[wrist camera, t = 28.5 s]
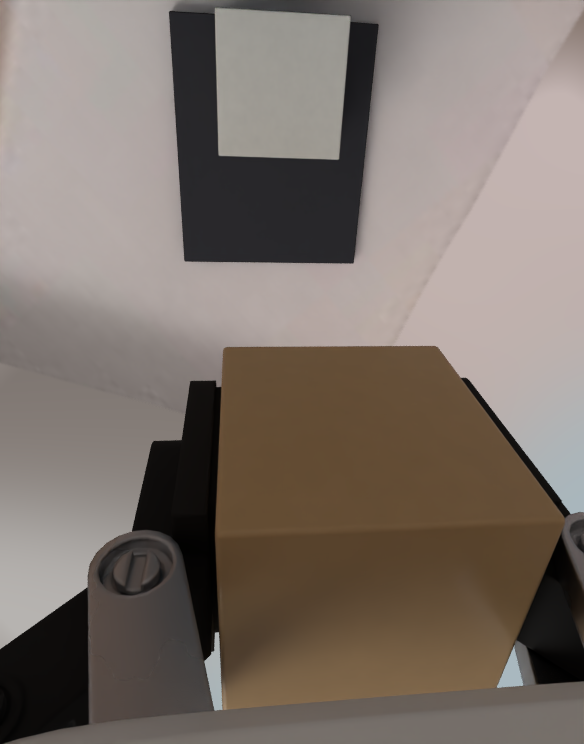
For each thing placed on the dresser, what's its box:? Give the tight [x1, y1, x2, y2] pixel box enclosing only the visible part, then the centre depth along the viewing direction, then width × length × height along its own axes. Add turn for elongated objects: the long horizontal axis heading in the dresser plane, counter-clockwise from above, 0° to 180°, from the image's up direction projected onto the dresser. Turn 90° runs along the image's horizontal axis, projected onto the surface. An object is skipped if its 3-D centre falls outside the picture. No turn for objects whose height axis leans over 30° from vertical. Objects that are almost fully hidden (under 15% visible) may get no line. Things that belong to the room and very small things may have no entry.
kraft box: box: [215, 346, 565, 710], centre depth 10 cm, size 4×4×5 cm
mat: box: [169, 11, 379, 263], centre depth 28 cm, size 12×10×1 cm
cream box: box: [215, 7, 351, 160], centre depth 24 cm, size 6×6×4 cm
